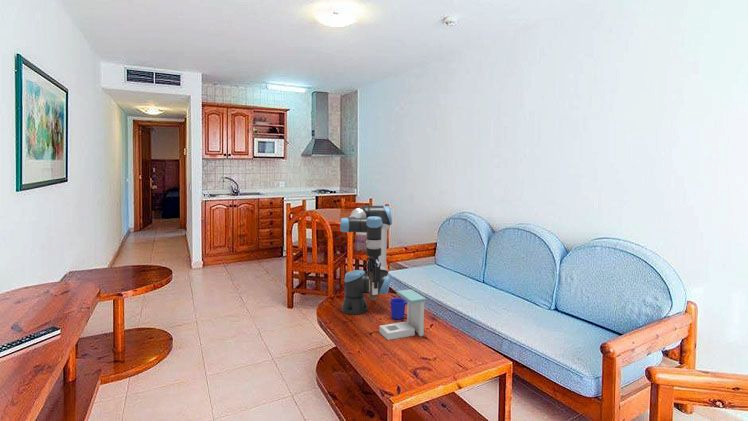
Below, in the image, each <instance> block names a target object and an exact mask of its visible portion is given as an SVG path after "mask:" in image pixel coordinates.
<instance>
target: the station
mask: <svg viewBox="0 0 748 421" xmlns="http://www.w3.org/2000/svg"><path fill="white" fill-rule="evenodd" d="M396 295H397V296H399V298H401V299H404V300H405V302H407V304H406V306H407V307H406V308H407V309H406V310H407V311H406V312H407V316H406V321H401V322H394V323H389V324H382V325H379V334H380V335H382V337H384V338H385V339H386V340H387V341H392V340H395V339H396V340H397V339H402V338H407V337H412V336H413V337H414V336H415V335H416V334H415V332H416V333H417V335H418V336H419V337H423V336H424V332H425V331H424V330H425V328H424V327H425V302H427V298H426V297H425V296H424V295H422V294H419V293H418V292H416V291H415V290H413V289H412V288H411V289H410V288H409V289H402V290H396Z"/></svg>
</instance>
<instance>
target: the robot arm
mask: <svg viewBox="0 0 748 421" xmlns="http://www.w3.org/2000/svg"><path fill="white" fill-rule="evenodd" d="M392 224H393V219H392V210H391V207H390V206H388V205H368V204H367V205H362V206H358V207H356V208H354V209H353V210H352V211H351V212H350V216H349V217H341V218H340V222H339V229H340V232H341V233H365V234H366V241H365V244H366V252H365V253H366V255H367V256H368V257H366V262H367V265H366V266H367V267H366V268H367V270H366V271H365V270H362V269H355V270H350V271H347V272H346V273H345V275H344V281H343V282H344V298H343V300H342V305H341V311H342V312H341V313H344V314H347V315H361V314H364V313H366V312H368V304H367V301H366V298H365V294H366V295H367V294H368V295H369V289H370V271H373V281H372V295H377V296H378V295H387V294H388V293H389V291H390V285H391V284H390V283H391V276H392V275H391V273H389V270H388V268H387V246H388V243H387V242H388V230H389V229H390V227H391V226H392ZM366 272H367V273H366Z"/></svg>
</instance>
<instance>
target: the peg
mask: <svg viewBox="0 0 748 421" xmlns="http://www.w3.org/2000/svg"><path fill="white" fill-rule="evenodd" d="M372 281H373V271H370V289H369V294H368V295H369V296H368V297H369V298H368V300H370V301H377V300H378V294H377V295H372Z"/></svg>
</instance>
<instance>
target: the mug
mask: <svg viewBox="0 0 748 421" xmlns="http://www.w3.org/2000/svg"><path fill="white" fill-rule="evenodd" d="M406 306H407V301H406V300H405V299H403V298H402V297H395V298H391V299H390V313H391V314H390V315H391V318H392V319H394V320H402V319H403V318H404V316H405V317H407V314H406V312H405V311H406Z"/></svg>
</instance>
